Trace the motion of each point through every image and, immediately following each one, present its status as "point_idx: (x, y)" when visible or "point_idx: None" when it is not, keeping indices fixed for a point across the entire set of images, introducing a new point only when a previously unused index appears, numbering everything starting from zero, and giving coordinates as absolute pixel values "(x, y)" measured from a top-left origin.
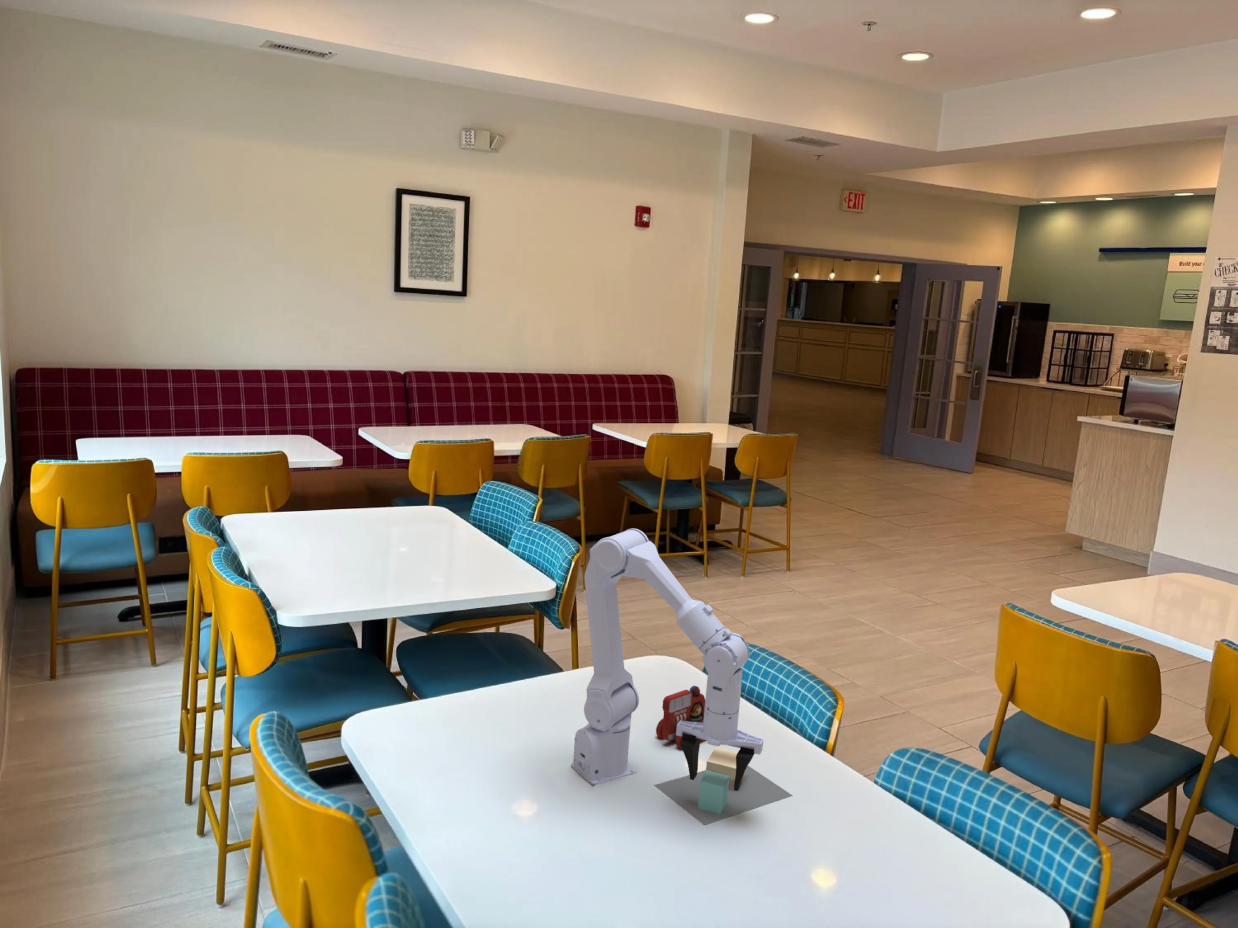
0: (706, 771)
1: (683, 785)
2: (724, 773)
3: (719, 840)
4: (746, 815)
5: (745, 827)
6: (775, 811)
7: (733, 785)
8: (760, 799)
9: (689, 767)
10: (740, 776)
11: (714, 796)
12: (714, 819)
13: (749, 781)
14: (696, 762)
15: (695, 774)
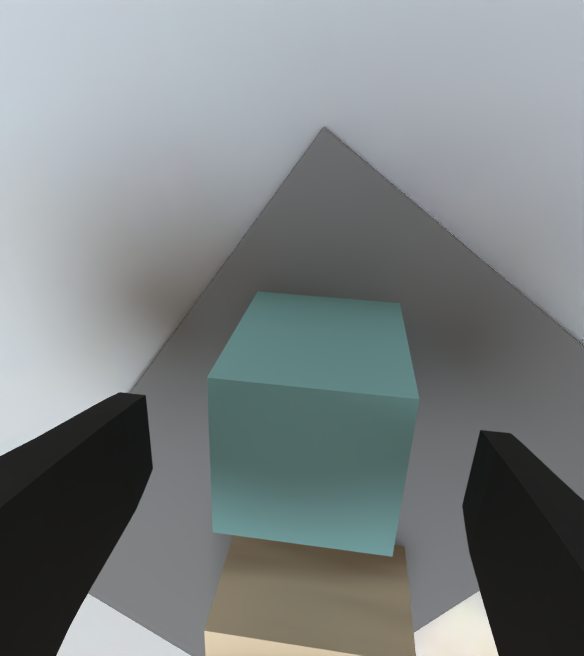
0: (392, 542)
1: None
2: (301, 597)
3: (196, 7)
4: (141, 348)
5: (107, 233)
6: (39, 426)
7: (255, 542)
8: None
9: (574, 497)
10: (3, 456)
11: (291, 337)
12: (278, 222)
13: (209, 595)
14: (504, 590)
15: (476, 484)
